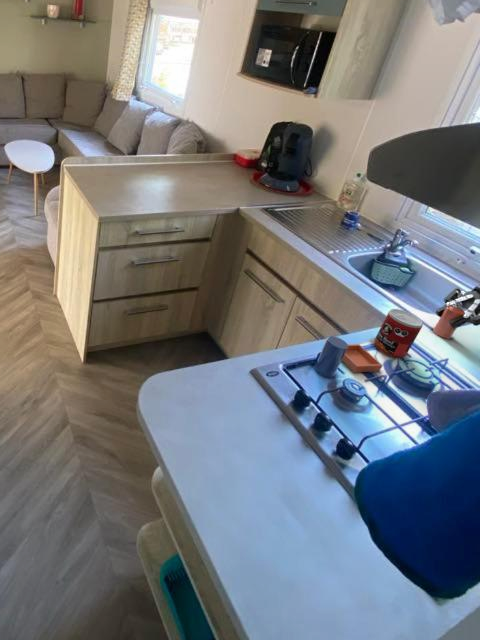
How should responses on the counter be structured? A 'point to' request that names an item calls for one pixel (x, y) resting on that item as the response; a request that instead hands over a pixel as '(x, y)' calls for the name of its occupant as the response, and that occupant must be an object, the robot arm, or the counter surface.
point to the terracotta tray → (360, 359)
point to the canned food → (398, 333)
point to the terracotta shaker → (447, 321)
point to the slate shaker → (331, 356)
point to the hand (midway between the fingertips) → (444, 319)
